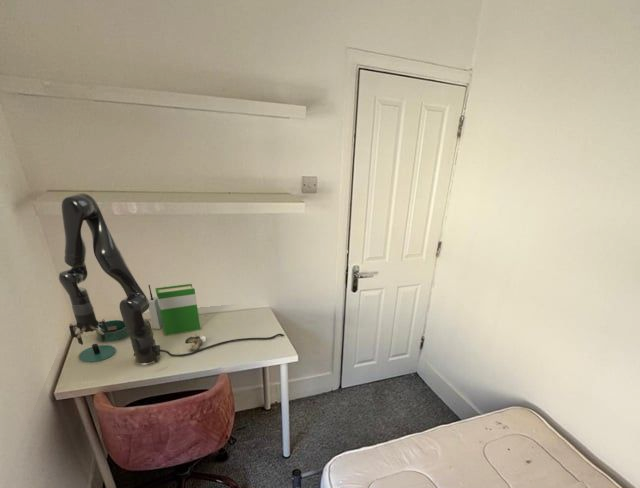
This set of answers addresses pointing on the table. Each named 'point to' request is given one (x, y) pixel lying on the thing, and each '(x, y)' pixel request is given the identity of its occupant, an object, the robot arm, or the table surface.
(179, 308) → the hardback book
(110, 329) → the block
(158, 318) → the vintage mobile phone
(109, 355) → the lid
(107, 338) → the tin
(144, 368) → the table surface
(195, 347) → the eagle figurine
